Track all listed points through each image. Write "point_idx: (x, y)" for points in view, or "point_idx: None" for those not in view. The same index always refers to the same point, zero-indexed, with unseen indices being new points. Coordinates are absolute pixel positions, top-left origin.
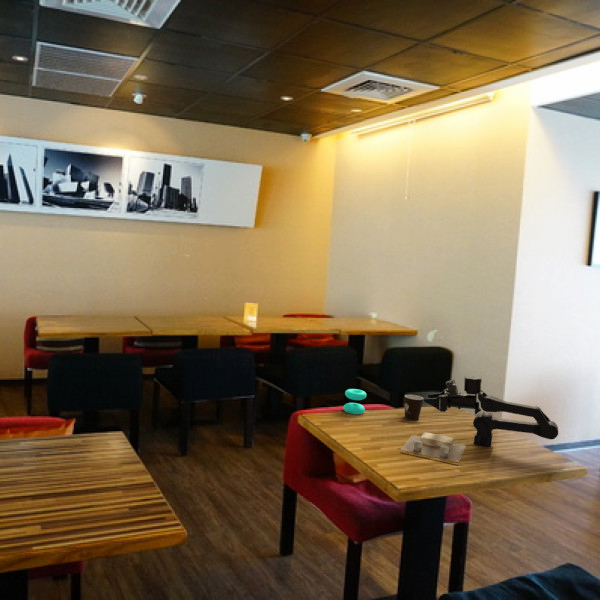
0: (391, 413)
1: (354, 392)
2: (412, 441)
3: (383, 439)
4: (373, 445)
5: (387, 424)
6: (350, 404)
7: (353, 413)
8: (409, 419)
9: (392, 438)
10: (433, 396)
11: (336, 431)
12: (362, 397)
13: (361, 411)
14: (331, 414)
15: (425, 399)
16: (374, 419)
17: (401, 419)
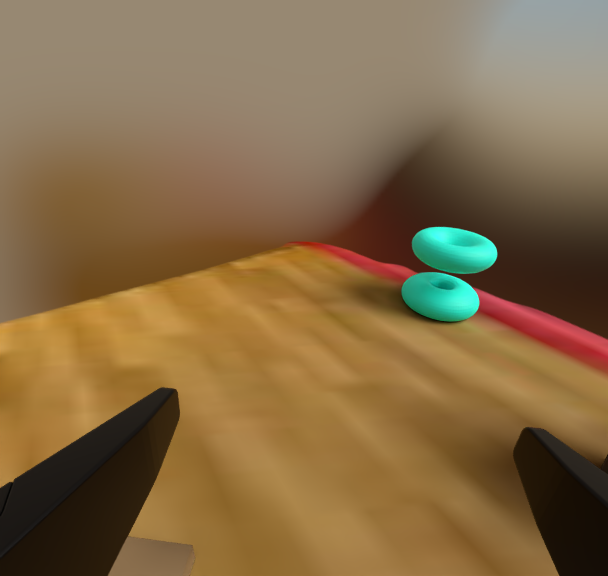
0: (582, 399)
1: (430, 235)
2: None
3: None
4: (32, 383)
5: (386, 400)
6: (428, 276)
7: (406, 303)
8: None
9: None
10: (590, 545)
11: (189, 293)
12: (438, 261)
13: (427, 310)
14: (352, 274)
15: (139, 405)
16: (411, 355)
17: None
